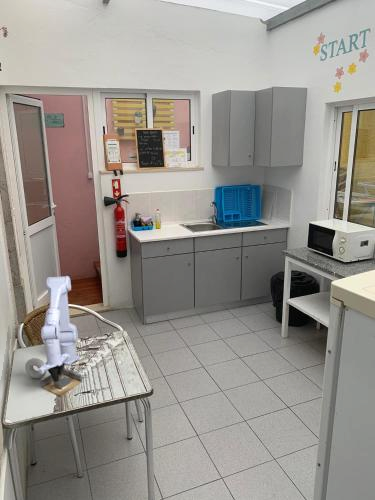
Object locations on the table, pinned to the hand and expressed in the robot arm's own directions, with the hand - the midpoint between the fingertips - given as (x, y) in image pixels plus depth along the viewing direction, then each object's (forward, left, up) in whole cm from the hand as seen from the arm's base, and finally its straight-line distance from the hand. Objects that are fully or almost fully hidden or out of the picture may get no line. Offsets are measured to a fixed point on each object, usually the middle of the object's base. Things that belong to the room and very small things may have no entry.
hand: (57, 380), depth 164 cm
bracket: (0, +3, -3) cm, 4 cm away
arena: (-1, +3, -4) cm, 6 cm away
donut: (-15, +1, -5) cm, 16 cm away
